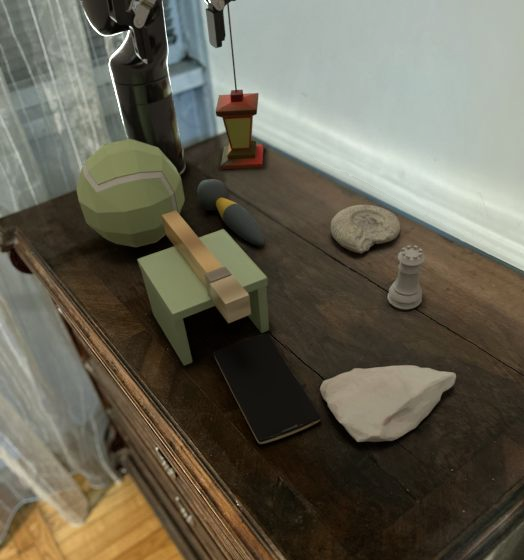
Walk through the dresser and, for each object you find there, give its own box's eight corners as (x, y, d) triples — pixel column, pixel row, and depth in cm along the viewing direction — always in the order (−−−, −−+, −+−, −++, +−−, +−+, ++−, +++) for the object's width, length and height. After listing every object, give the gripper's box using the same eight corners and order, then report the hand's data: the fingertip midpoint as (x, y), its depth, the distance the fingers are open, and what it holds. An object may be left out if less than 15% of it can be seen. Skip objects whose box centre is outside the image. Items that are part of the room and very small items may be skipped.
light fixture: (263, 148, 106) (251, -39, 85) (262, 167, 101) (248, -27, 79) (224, 150, 107) (202, -35, 85) (221, 169, 101) (196, -23, 80)
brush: (163, 235, 72) (158, 215, 69) (182, 229, 72) (178, 209, 70) (228, 323, 59) (225, 302, 57) (251, 314, 60) (249, 293, 58)
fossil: (375, 242, 76) (314, 228, 81) (376, 264, 79) (316, 250, 84) (411, 203, 82) (352, 192, 87) (410, 225, 84) (353, 213, 90)
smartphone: (267, 331, 69) (322, 418, 59) (268, 337, 70) (322, 424, 60) (212, 350, 67) (259, 442, 58) (213, 356, 68) (260, 449, 58)
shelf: (151, 312, 75) (136, 258, 68) (230, 282, 78) (223, 228, 72) (185, 368, 67) (172, 314, 61) (271, 332, 71) (267, 277, 64)
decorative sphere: (199, 251, 84) (183, 158, 73) (101, 275, 81) (70, 183, 71) (177, 203, 94) (160, 115, 83) (89, 223, 91) (60, 135, 81)
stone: (312, 361, 61) (435, 330, 64) (311, 385, 64) (428, 355, 67) (349, 435, 54) (485, 398, 56) (346, 459, 57) (476, 422, 59)
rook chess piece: (400, 285, 76) (407, 236, 70) (428, 299, 73) (438, 249, 67) (380, 301, 74) (386, 252, 68) (408, 316, 71) (416, 266, 65)
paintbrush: (283, 241, 84) (281, 212, 81) (257, 254, 83) (254, 225, 79) (211, 192, 96) (207, 165, 92) (187, 203, 94) (182, 176, 90)
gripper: (92, -118, 48) (134, 78, 59) (239, -139, 52) (252, 49, 63) (70, -125, 52) (114, 58, 64) (207, -143, 56) (224, 32, 68)
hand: (182, 53), depth 64 cm, fingers open, 8 cm apart
